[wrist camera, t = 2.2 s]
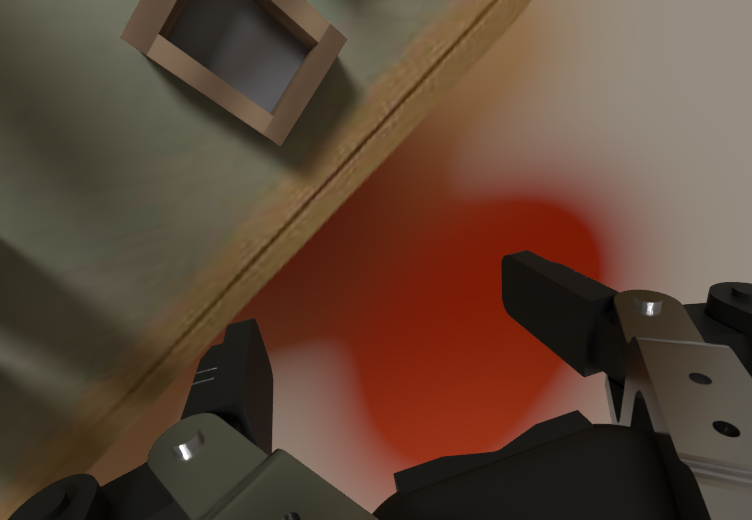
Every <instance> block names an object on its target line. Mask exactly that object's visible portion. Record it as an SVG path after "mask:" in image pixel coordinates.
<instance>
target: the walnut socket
mask: <svg viewBox="0 0 752 520" xmlns="http://www.w3.org/2000/svg"><path fill="white" fill-rule="evenodd" d="M120 38H121V39H123V40H124V41H126V42H127V43H129V44H130V45H132V46H133V47H135V48H136V49H138V50H139V51H141V52H142V53H144V54H145V55H147V56H148V57H149V58H151V59H152V60H154V61H155V62H157V63H158V64H160V65H161V66H163V67H164V68H166V69H167V70H169V71H170V72H172V73H173V74H175V75H176V76H178V77H179V78H180V79H182V80H183V81H185V82H186V83H188V84H189V85H191V86H192V87H194V88H195V89H197V90H198V91H200V92H201V93H203V94H204V95H206V96H207V97H208V98H210V99H211V100H213V101H214V102H216V103H217V104H219V105H220V106H222V107H223V108H225V109H226V110H228V111H229V112H231V113H232V114H234V115H235V116H236V117H238V118H239V119H241V120H242V121H244V122H245V123H247V124H248V125H250V126H251V127H253V128H254V129H256V130H257V131H259V132H260V133H262V134H263V135H264V136H266V137H267V138H269V139H270V140H272V141H273V142H275V143H276V144H278V145H279V146H281V145H282V144H283V142H284V141H285V139H286V137H287V136H288V134H289V133H290V131H291V129H292V128H293V126H294V124H295V123H296V121H297V120H298V118H299V116H300V115H301V113H302V112H303V110H304V108H305V107H306V105H307V104H308V102H309V100H310V99H311V97H312V96H313V94H314V92H315V91H316V89H317V87H318V86H319V84H320V83H321V81H322V79H323V78H324V76H325V75H326V73H327V71H328V70H329V68H330V67H331V65H332V63H333V62H334V60H335V58H336V57H337V55H338V54H339V52H340V50H341V49H342V47H343V46H344V44H345V42H346V41H347V39H346V38H345V37H344V36H343V35H342V34H341V33H340V32H339V31H338V30H337V29H336V28H335V27H334V26H333V25H331V24H330V23H329V22H328V21H327V20H326V19H325V18H324V17H323V16H322V15H321V14H320V13H319V12H318V11H316V10H315V9H314V8H313V7H312V6H311V5H310V4H309V3H308V2H307V1H306V0H140V1H139V3H138V5H137V7H136V9H135V11H134V13H133V14H132V16H131V18H130V20H129V22H128V24H127V26H126V28H125V29H124V31H123V33H122V35H121V37H120Z"/></svg>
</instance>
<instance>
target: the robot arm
mask: <svg viewBox="0 0 752 520" xmlns="http://www.w3.org/2000/svg"><path fill="white" fill-rule="evenodd" d="M501 266H502V267H501V268H502V301H503V305H504V307H505V310H506V311H507V313H508V314H509V316H511V317H512V318H513V319H514V320H515V321H517V322H518V323H519V324H520V325H521V326H523V327H524V328H525V329H526V330H528V331H529V332H530V333H531V334H532V335H534V336H535V337H536V338H537V339H538V340H540V341H541V342H542V343H543V344H545V345H546V346H547V347H548V348H549V349H551V350H552V351H553V352H554V353H555V354H557V355H558V356H559V357H560V358H561V359H563V360H564V361H565V362H566V363H567V364H569V365H570V366H571V367H572V368H574V369H575V370H576V371H577V372H578V373H579V374H581V375H582V376H583V377H587V376H590V375H593V374H596V373H598V372H602V371H603V372H605V373H606V376H605V389H606V394H607V400H608V405H609V410H610V415H611V420H612V424H592V423H591V422H590V421H589V420H588V419H587V418H585V417H584V416H583V415H582V414H581V413H580V412H579V411H578V410H576V411H573V412H570V413H567V414H565V415H562V416H559V417H556V418H553V419H550V420H547V421H544V422H541V423H538V424H536V425H534V426H533V427H531V428H530V429H529V430H527V431H526V432H524V433H523V434H521V435H520V436H519V437H517V438H516V439H514V440H513V441H512V442H510V443H509V444H507V445H506V446H505V447H503V448H502V449H500V450H498V451H495V452H487V453H478V454H467V455H457V456H445V457H440V458H437V459H434V460H432V461H429V462H426V463H423V464H420V465H417V466H414V467H411V468H408V469H405V470H403V471H400V472H397V473H394V479H395V484H396V489H397V492H396V493H395V494H393V495H392V496H390V497H389V498H388V499H387V500H386V501H384V502H383V503H382V504H381V505H380V506H379V507H378V508H377V509H376V510H375V511H374V512H373V514H371V513H369V512H368V511H367V510H365V509H364V508H362V507H361V506H360V505H358V504H357V503H356V502H354V501H353V500H351V499H350V498H349V497H347V496H346V495H345V494H343V493H342V492H341V491H339V490H338V489H337V488H335V487H334V486H332V485H331V484H330V483H328V482H327V481H326V480H324V479H323V478H322V477H320V476H319V475H318V474H316V473H315V472H313V471H312V470H311V469H309V468H308V467H307V466H305V465H304V464H302V463H301V462H300V461H298V460H297V459H295V458H294V457H293V456H292V455H290V454H289V453H287V452H286V451H284V450H282V449H276V450H275V451H274V452H273V453H272V417H273V416H272V414H273V375H272V369H271V365H270V361H269V358H268V355H267V352H266V349H265V345H264V342H263V339H262V336H261V333H260V330H259V327H258V324H257V322H256V320H255V319H254V318H253V319H249V320H245V321H241V322H237V323H233V324H229V325H228V326H227V329H226V333H225V337H224V341H223V343H222V344H219V345H215V346H212V347H211V348H210V349H209V350H208V351H207V353H206V354H205V355H204V356H203V357H202V358H201V360H200V363H199V366H198V369H197V374H196V375H195V378H194V381H193V385H192V387H191V390H190V393H189V396H188V399H187V402H186V405H185V408H184V411H183V414H182V417H181V420H180V421H179V422H177V423H176V424H174V425H173V426H171V427H170V428H168V429H167V430H166V431H165V432H164V433H162V434H161V435H160V436H159V438H158V439H157V440H156V441H155V443H154V444H153V445H152V447H151V449H150V451H149V454H148V459H147V462H146V463H144V464H143V465H141V466H139V467H137V468H136V469H134V470H132V471H130V472H128V473H126V474H124V475H122V476H121V477H119V478H117V479H115V480H113V481H111V482H109V483H107V484H106V485H104V486H102V487H100V485H99V484H98V482H97V481H96V479H95V478H94V477H93V476H92V475H89V474H77V475H73V476H69V477H66V478H64V479H61V480H59V481H57V482H55V483H53V484H51V485H49V486H47V487H46V488H44V489H42V490H41V491H39V492H38V493H36V494H35V495H34V496H32V497H31V498H30V499H28V500H27V501H26V502H25V503H24V504H23V505H21V506H20V507H19V508H18V509H17V510H16V511H15V512H14V513H13V514H12V515H11V517H10V518H9V519H8V520H752V284H749V283H741V282H724V283H718V284H715V285H713V286H711V287H710V289H709V293H708V298H707V302H706V303H698V304H685V305H682V304H681V303H680V302H679V301H678V300H676V299H675V298H673V297H671V296H669V295H666V294H663V293H660V292H655V291H650V290H627V291H623V292H617V291H615V290H613V289H611V288H609V287H607V286H605V285H603V284H601V283H599V282H597V281H595V280H593V279H591V278H589V277H587V278H586V276H585V275H582V274H581V273H579V272H575V270H572V269H571V268H569V267H567V266H565V265H562V264H559V263H554V262H550V261H548V260H546V259H544V258H542V257H540V256H538V255H536V254H534V253H532V252H530V251H528V250H525V251H521V252H518V253H513V254H510V255H505V256H504V257H503V259H502V263H501Z"/></svg>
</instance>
